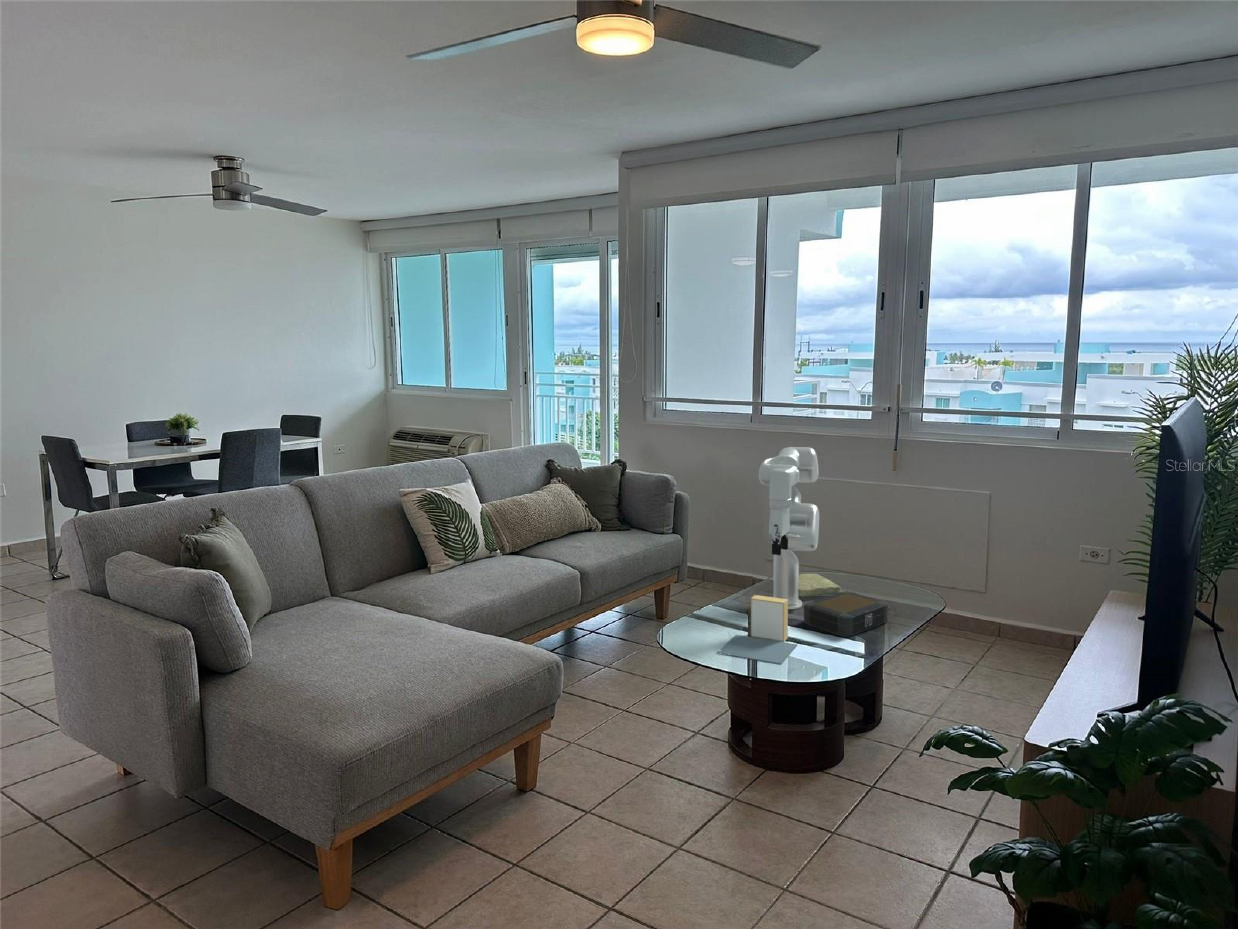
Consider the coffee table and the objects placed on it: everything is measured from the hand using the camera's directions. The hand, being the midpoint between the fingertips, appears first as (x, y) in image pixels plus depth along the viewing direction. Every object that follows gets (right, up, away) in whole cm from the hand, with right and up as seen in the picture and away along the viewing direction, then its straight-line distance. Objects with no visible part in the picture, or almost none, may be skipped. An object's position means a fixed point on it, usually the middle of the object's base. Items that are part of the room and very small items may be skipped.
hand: (780, 551), depth 296 cm
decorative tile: (+21, -21, +48) cm, 57 cm away
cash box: (+26, -27, +7) cm, 38 cm away
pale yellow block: (-5, -29, -6) cm, 30 cm away
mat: (-11, -31, -17) cm, 37 cm away
